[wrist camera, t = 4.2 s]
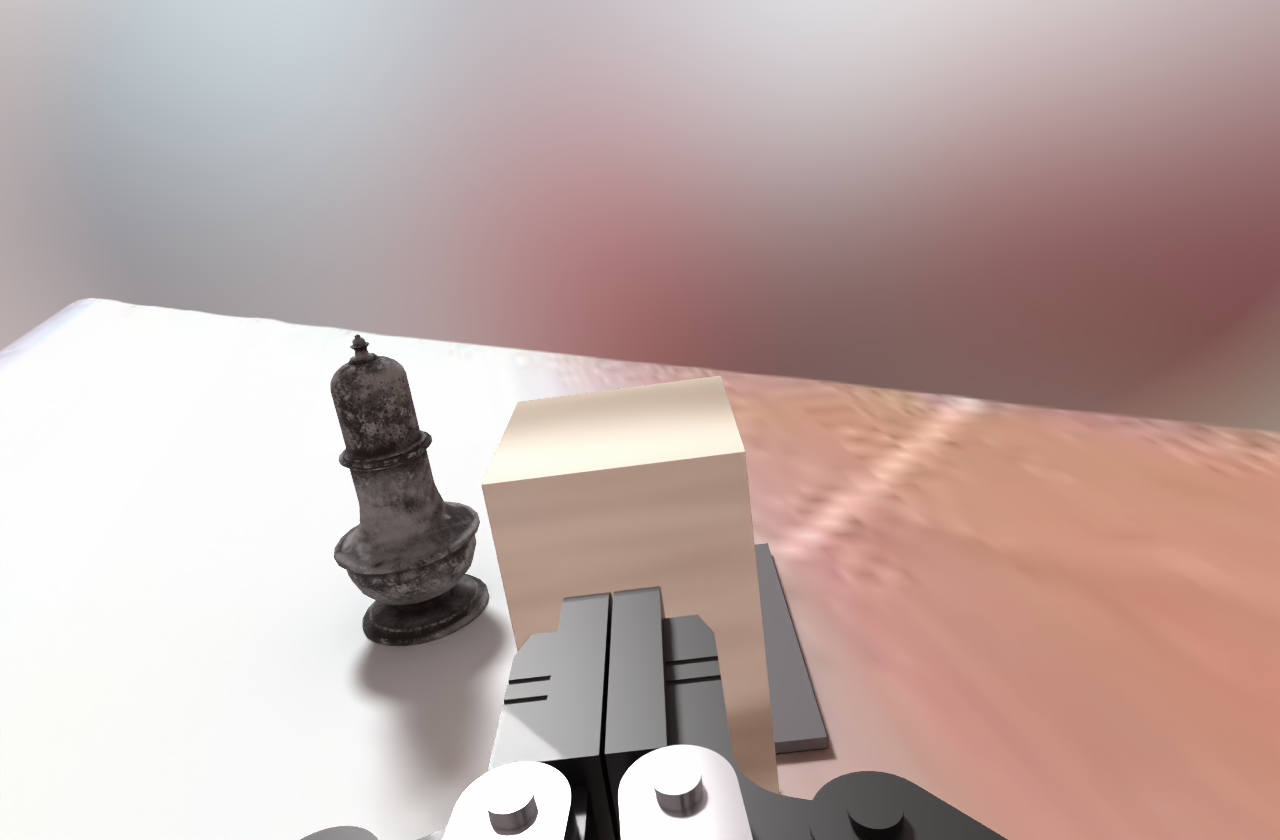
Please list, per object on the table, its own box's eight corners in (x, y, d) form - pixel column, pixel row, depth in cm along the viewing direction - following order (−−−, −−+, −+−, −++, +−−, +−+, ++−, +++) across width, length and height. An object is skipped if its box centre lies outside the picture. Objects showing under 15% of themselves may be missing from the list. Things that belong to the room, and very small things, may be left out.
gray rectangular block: (827, 747, 25) (826, 737, 24) (527, 780, 25) (525, 770, 25) (768, 551, 36) (767, 543, 36) (562, 576, 36) (560, 568, 36)
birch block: (793, 924, 19) (745, 451, 15) (581, 945, 20) (481, 485, 16) (762, 768, 24) (720, 375, 20) (592, 787, 24) (517, 402, 20)
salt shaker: (326, 629, 35) (243, 353, 31) (432, 562, 39) (371, 314, 35) (419, 665, 31) (338, 361, 27) (524, 588, 36) (467, 316, 32)
